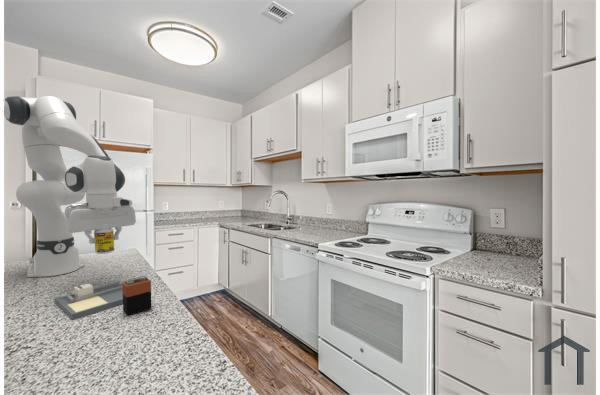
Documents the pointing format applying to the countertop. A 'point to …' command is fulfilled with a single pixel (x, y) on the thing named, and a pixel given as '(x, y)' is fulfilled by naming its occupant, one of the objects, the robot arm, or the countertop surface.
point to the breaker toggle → (83, 290)
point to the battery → (136, 295)
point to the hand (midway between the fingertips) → (104, 241)
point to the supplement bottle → (104, 240)
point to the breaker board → (91, 300)
